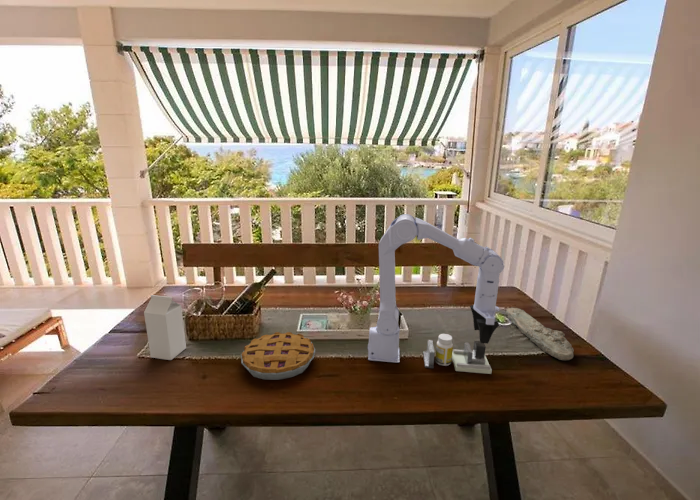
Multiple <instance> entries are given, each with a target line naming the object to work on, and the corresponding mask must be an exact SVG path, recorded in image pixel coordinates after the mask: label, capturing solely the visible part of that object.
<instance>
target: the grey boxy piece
mask: <svg viewBox="0 0 700 500" xmlns="http://www.w3.org/2000/svg"><path fill="white" fill-rule="evenodd" d="M473 341H474V342H473V348H472V347H471V345H470V342H464V344H463V345H464V347H463V350H464V352H463V354H464V357H465V360H466V363H467V364H478V365H485V361H486V359H485V357H484V356H486V348H487V346H486V343H481V342H480V340H473Z"/></svg>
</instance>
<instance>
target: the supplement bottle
mask: <svg viewBox="0 0 700 500" xmlns="http://www.w3.org/2000/svg"><path fill="white" fill-rule="evenodd" d="M435 348H436V349H435V357H434V361H435V363H436V364H438V365H439V366H445V367H447V366H449V365H451V364H452V363H453V359H452V352H453V349H454V344H453V336H452V335H450V334H448V333H440V334H439V335H438V339H437V341H436V347H435Z"/></svg>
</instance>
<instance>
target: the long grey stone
mask: <svg viewBox="0 0 700 500" xmlns="http://www.w3.org/2000/svg"><path fill="white" fill-rule="evenodd" d="M505 311H506V312H505V315H506V316H507V315H508V316H507V318H508V320H511V321H510V322H511V323H512V324H513V326H516V328H517V329H518V330H519V331H520V333H522V334H524V335H525V336H526V337H527V338H528V339H529V340H530V342H533V344H535V345H536V346H537V347H538V348H540V349H541V350H542V351H543V352H544V353H545V352H546V353H547V354H548V355H550V356H552V357H554V358H555V359H558V360H559V361H570V360H572V359H573V358H574V351H575V350H574V347H572V345H573V344H571V343H570V342H569V340H567V338H566V337H565V334H566V333H564V331H561V330H555V329H552V328H549V327H546V326H545V325H543V324H542V323H541V322H540V321H538V320H537V319H536V318H534V317H533V316H532V315H530V314H529V313H527V312H526V311H525V310H524V309H522V308H518V307H509V308H507V309H506V310H505ZM546 353H545V354H546Z"/></svg>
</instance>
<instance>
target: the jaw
mask: <svg viewBox="0 0 700 500" xmlns="http://www.w3.org/2000/svg"><path fill="white" fill-rule="evenodd" d="M426 343H427V345H426V350H425V351H423V350H422V351H423V352H422V355H423V362H424V368H426V369H434V367H435V366H434V363H435V355H436V351H435V347H434V343H433V339H427V342H426Z"/></svg>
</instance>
